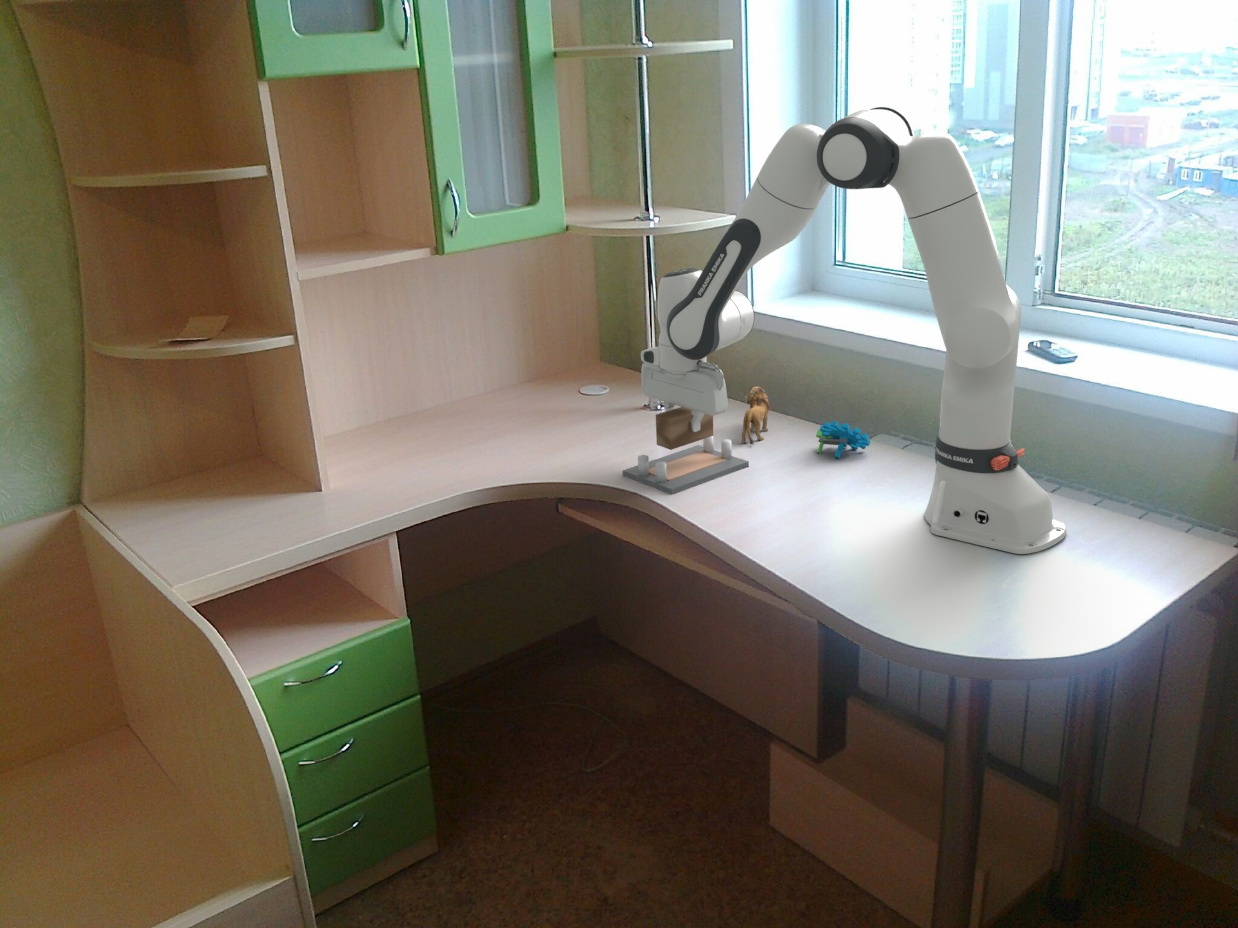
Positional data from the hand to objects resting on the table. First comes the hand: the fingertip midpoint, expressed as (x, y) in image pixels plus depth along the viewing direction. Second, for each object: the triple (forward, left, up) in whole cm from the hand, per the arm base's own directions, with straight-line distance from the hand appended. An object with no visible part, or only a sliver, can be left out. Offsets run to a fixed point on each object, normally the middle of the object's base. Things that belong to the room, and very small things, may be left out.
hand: (684, 427), depth 207 cm
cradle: (0, 0, -9) cm, 9 cm away
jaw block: (0, 0, -3) cm, 3 cm away
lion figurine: (+5, -25, -9) cm, 27 cm away
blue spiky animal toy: (-15, -28, -9) cm, 33 cm away
